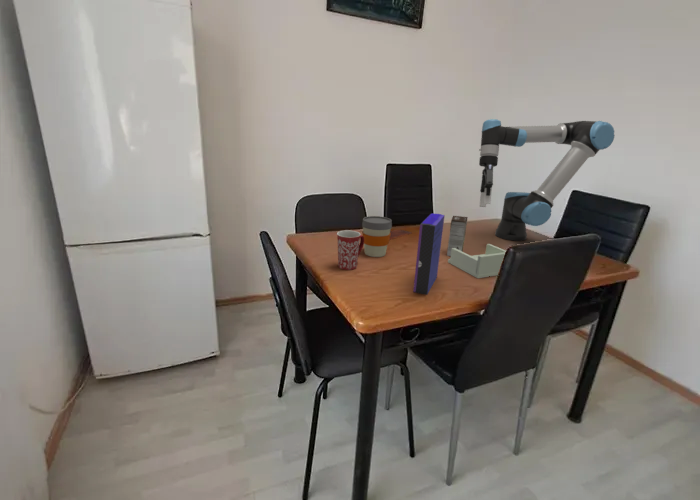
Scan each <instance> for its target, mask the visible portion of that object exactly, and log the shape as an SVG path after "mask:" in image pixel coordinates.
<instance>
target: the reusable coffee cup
mask: <svg viewBox="0 0 700 500" xmlns="http://www.w3.org/2000/svg"><path fill="white" fill-rule="evenodd" d="M392 221H393V220H392V219H391V218H388V217H385V216H377V215H370V216H364V217H363V218H362V224H361V227H362V231H361V232H362V233H361V235H362V236H363V237H364V245H363V247H364V249H363V250H364V254H365V255H366V256H368V257H374V258H381V257H384V256H386V253H387V248H388V245H389V243H390V235H391V233H390V231H392V230H391V229H392V227H393V223H392Z"/></svg>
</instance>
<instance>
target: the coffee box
mask: <svg viewBox="0 0 700 500" xmlns="http://www.w3.org/2000/svg"><path fill="white" fill-rule="evenodd" d="M467 224H468V216H461V215H452V217H451V220H450V229H449V237H448V242H447V243H448V245H447V251H446V256H448V257H451V250H452V248H456V249H458V250H460V251H462V252H464V246H465V245H464V244H465V238H466V232H467Z"/></svg>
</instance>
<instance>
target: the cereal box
mask: <svg viewBox="0 0 700 500" xmlns="http://www.w3.org/2000/svg"><path fill="white" fill-rule="evenodd" d="M444 222H445V214H440V213H430V214H429V215H428V216H427V217H426V218H425V219H424V220H423V221H421V223H420V225H419V232H418V243H417V253H416V261H415V262H416V263H415V271H414V272H415V273H414V282H413V289H412V290H413V291H412V292H413V293H416V294H420V295H426V296H428V294H429V292H430V291H431V289H432V288H433V285H434V283H435V282H436V280H437V278H438V272H439V264H440V263H439V262H440V255H441V248H442V247H441V246H442V242H443V241H442V239H443V232H444V225H445V224H444Z"/></svg>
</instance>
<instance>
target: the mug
mask: <svg viewBox="0 0 700 500" xmlns="http://www.w3.org/2000/svg"><path fill="white" fill-rule="evenodd" d="M336 236H337V237H336V238H337V264H338V265H337V266H338V268H339V269H340V270H345V271H351V270H354V269H357V267H358V260H359V256H360V254H361V252H362V250H363V247H364V237H363V236H362V233H360V232H359V231H355V230H349V229H345V230H339V231H337V233H336Z"/></svg>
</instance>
